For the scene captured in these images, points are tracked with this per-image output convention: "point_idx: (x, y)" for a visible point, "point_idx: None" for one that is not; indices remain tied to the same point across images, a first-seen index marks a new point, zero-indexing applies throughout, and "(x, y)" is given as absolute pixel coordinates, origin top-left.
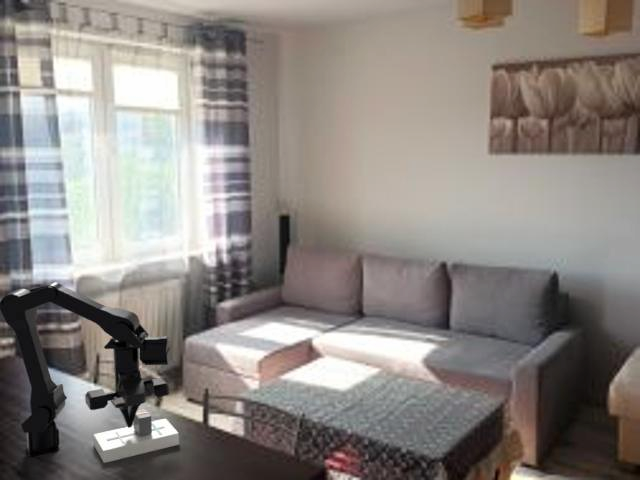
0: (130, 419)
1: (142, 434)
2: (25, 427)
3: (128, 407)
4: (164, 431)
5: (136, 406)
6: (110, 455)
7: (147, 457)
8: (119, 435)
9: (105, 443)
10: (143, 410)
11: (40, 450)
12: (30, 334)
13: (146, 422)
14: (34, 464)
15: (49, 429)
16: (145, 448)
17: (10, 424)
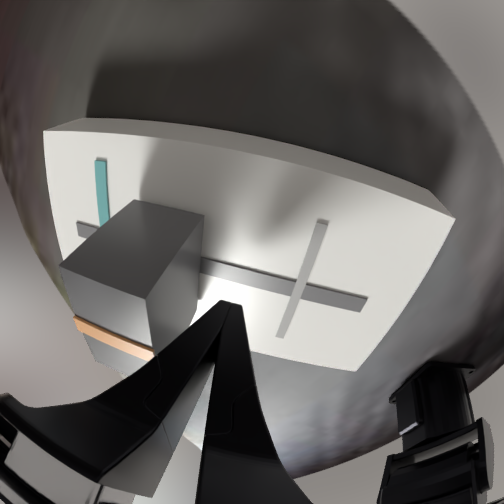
0: (210, 342)
1: (183, 213)
2: (491, 437)
3: (180, 431)
4: (82, 187)
5: (107, 417)
6: (412, 190)
7: (236, 85)
8: (288, 304)
9: (392, 282)
10: (104, 356)
11: (458, 376)
12: None
13: (115, 249)
14: (498, 335)
15: (447, 425)
16: (215, 133)
17: (372, 447)
